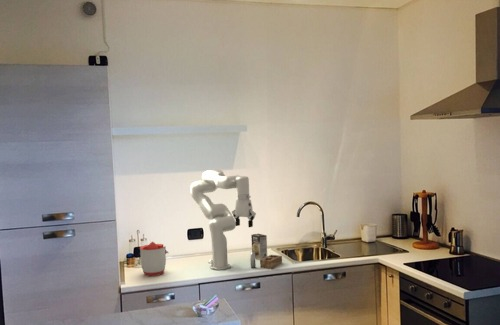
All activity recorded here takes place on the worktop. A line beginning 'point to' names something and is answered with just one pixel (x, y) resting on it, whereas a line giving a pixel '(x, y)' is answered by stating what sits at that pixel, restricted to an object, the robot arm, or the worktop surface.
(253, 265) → the pin
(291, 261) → the worktop surface
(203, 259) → the worktop surface
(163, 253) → the citrus juicer
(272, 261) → the hole block
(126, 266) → the worktop surface
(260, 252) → the coffee box
